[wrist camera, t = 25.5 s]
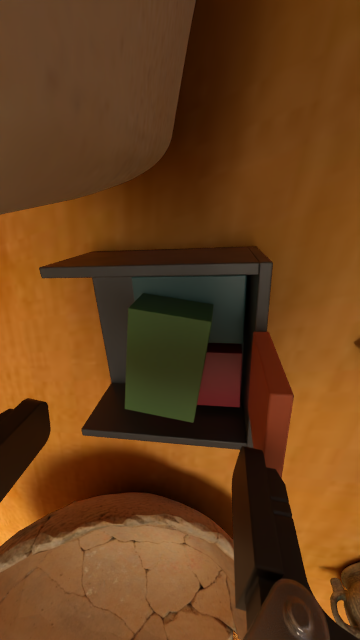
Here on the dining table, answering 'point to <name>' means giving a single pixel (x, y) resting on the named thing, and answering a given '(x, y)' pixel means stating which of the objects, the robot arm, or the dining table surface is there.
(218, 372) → the block
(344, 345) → the dining table surface
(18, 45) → the flower pot
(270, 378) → the dark grey box
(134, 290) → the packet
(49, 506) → the dining table surface
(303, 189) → the dining table surface
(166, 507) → the ceramic bowl
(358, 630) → the vessel
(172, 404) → the block
